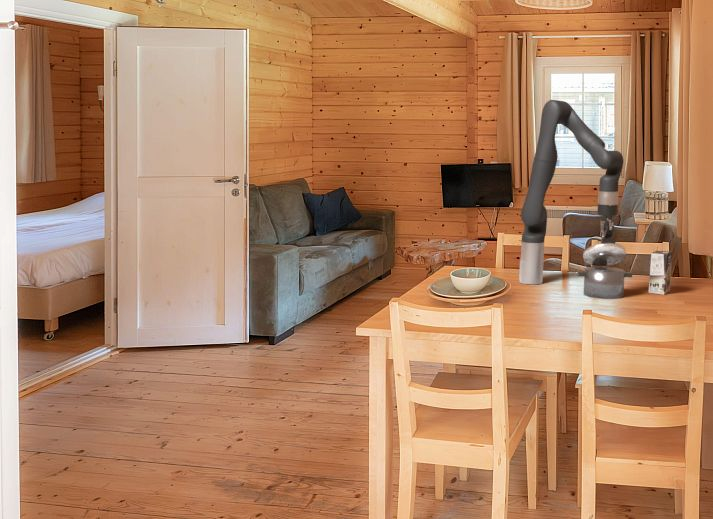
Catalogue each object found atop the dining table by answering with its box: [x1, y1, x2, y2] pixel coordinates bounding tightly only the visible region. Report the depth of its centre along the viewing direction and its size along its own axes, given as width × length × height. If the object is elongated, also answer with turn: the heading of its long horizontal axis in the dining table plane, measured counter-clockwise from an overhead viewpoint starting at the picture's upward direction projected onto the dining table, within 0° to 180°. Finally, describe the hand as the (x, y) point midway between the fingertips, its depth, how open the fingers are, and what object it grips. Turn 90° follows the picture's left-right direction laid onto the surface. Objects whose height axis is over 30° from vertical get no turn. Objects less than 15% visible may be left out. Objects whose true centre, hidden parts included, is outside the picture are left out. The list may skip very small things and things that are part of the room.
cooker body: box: [576, 265, 633, 300], centre depth 355 cm, size 21×17×10 cm
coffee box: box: [648, 250, 673, 295], centre depth 361 cm, size 9×6×16 cm
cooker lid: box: [582, 237, 627, 267], centre depth 355 cm, size 16×16×4 cm
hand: (605, 247), depth 353 cm, fingers closed
